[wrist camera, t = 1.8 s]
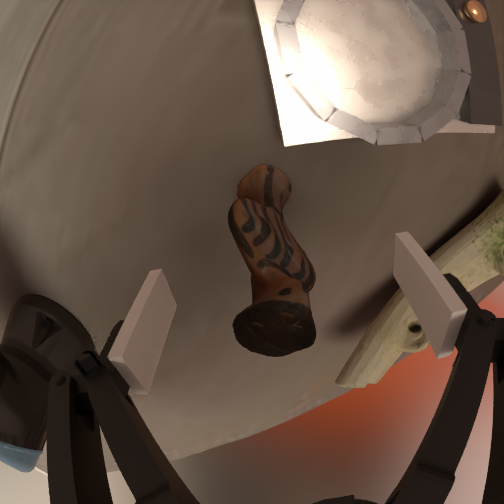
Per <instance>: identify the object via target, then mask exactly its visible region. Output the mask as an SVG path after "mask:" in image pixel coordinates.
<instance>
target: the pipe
mask: <svg viewBox="0 0 504 504" xmlns="http://www.w3.org/2000/svg"><path fill="white" fill-rule="evenodd" d="M429 258H430V259H431V260H432V262H433V263H434V264H435V266H436V267H437V268H438V269H439V271H440V272H441V273H442V274H446V273H451V274H452V275H454V276H455V277H457V278H458V279H459V281H460V282H461V283H462V285H463V286H464V287H465V288H466V290H467V291H468V292H469V291H471V290H472V289H474V288H475V287H477V286H478V285H480V284H482V283H483V282H485V281H487V280H489V279H491V278H493V277H495V276H497V275H499V274H501V275H503V276H504V190H502V192H501V193H500V194H499V195H498V196H497V198H496V199H495V200H494V201H493V202H492V203H491V204H490V205H489V206H488V207H487V208H486V209H485V210H484V211H483V212H482V213H481V214H480V215H479V216H478V217H477V218H476V219H474V220H473V221H472V222H470V223H469V224H468V225H466V226H465V227H464V228H463V229H462V230H461V231H459V232H458V233H457V234H456V235H455V236H453V237H452V238H451V239H450V240H449V241H447V242H446V243H445V244H444V245H443V246H441V247H440V248H439V249H438V250H437V251H435V252H434V253H433V254H432V255H431V256H430V257H429ZM429 344H430V342H429V340H428V338H427V336H426V334H425V332H424V330H423V328H422V326H421V325H420V323H419V321H418V319H417V317H416V315H415V313H414V311H413V309H412V308H411V306H410V304H409V302H408V300H407V298H406V297H405V295H404V293H403V291H402V289H401V288H399V289H398V290H397V291H396V292H395V294H394V295H393V296H392V297H391V299H390V300H389V301H388V302H387V304H386V305H385V306H384V308H383V309H382V310H381V311H380V313H379V314H378V315H377V317H376V318H375V319H374V321H373V322H372V323H371V324H370V326H369V327H368V329H367V330H366V332H365V334H364V336H363V337H362V339H361V340H360V342H359V344H358V345H357V347H356V348H355V350H354V351H353V353H352V355H351V356H350V358H349V359H348V361H347V362H346V364H345V366H344V367H343V369H342V371H341V372H340V374H339V376H338V377H337V379H336V381H335V382H336V384H337V385H338V386H341V387H343V388H365V386H366V385H367V384H368V383H371V384H376V383H378V381H379V380H380V379H381V378H382V377H383V376H384V374H385V373H386V372H387V370H388V369H389V368H390V367H391V366H392V364H393V363H394V362H395V361H396V360H397V359H398V357H399V356H400V355H401V354H402V353H403V351H404V352H419V351H422V350H423V349H425V348H426V347H427V346H428V345H429Z"/></svg>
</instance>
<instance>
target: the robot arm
mask: <svg viewBox="0 0 504 504" xmlns="http://www.w3.org/2000/svg"><path fill="white" fill-rule="evenodd" d="M393 276H394V277H395V279H396V281H397V282H398V284H399V286H400V288H401V289H402V291H403V293H404V295H405V297H406V298H407V300H408V302H409V304H410V306H411V308H412V309H413V311H414V313H415V315H416V317H417V319H418V321H419V323H420V325H421V326H422V328H423V330H424V332H425V334H426V336H427V338H428V340H429V342H430V344H431V346H432V348H433V350H434V352H435V355H436V357H437V359H439V358H442V357H445V356H448V355H451V354H452V352H453V349H454V346H455V347H456V348H457V350H458V354H457V356H456V359H455V361H454V363H453V366H452V367H453V368H452V371H451V374H450V377H449V380H448V383H447V385H446V388H445V390H444V393H443V396H442V398H441V400H440V403H439V405H438V408H437V410H436V413H435V415H434V417H433V419H432V421H431V424H430V426H429V428H428V430H427V432H426V434H425V436H424V438H423V440H422V442H421V444H420V446H419V448H418V450H417V452H416V454H415V456H414V458H413V459H412V461H411V463H410V465H409V467H408V468H407V470H406V472H405V474H404V475H403V477H402V479H401V480H400V482H399V483H398V485H397V486H396V488H395V489H394V491H393V492H392V493H391V495H390V496H389V498H388V499H387V501H386V503H385V504H444V502H445V500H446V498H447V496H448V494H449V492H450V490H451V488H452V486H453V483H454V480H455V475H454V474H455V471H456V468H457V466H458V463H459V461H460V459H461V457H462V454H463V452H464V449H465V447H466V444H467V441H468V439H469V436H470V433H471V431H472V428H473V424H474V422H475V419H476V416H477V413H478V409H479V406H480V403H481V399H482V396H483V392H484V388H485V384H486V380H487V376H488V372H489V367H490V363H493V384H494V402H493V404H494V405H493V427H492V440H491V450H490V458H489V466H488V472H487V479H486V484H485V490H484V494H483V500H482V504H504V318H496V317H495V315H494V314H493V313H492V312H490V311H488V310H484V309H480V308H479V306H478V305H477V303H476V302H475V300H474V299H473V298H472V296H471V295H470V294H469V292H468V291H467V290H466V288H465V287H464V286H463V285H462V283H461V282H460V281H459V279H458V278H457V277H455V276H454V275H452V274H451V273H446V274H442V273H441V272H440V271H439V269H438V268H437V267H436V266H435V264H434V263H433V262H432V260H431V259H430V258H429V257H428V255H427V254H426V253H425V252H424V251H423V249H422V248H421V247H420V246H419V244H418V243H417V242H416V241H415V240H414V238H413V237H412V236H411V235H410V234H409V233H408V231H407V232H401V233H395V253H394V268H393ZM176 308H177V304H176V302H175V300H174V297H173V295H172V292H171V290H170V288H169V285H168V283H167V280H166V278H165V275H164V273H163V270H162V269H157V270H151V271H150V272H149V274H148V276H147V278H146V279H145V281H144V283H143V285H142V287H141V289H140V291H139V293H138V295H137V297H136V299H135V301H134V303H133V305H132V307H131V309H130V311H129V313H128V315H127V317H126V319H125V320H120V321H119V322H118V323H117V324H116V325H115V326H114V328H113V329H112V331H111V333H110V336H109V337H108V340H107V342H106V344H105V346H104V348H103V350H102V352H101V354H100V356H99V355H98V354H97V352H96V351H95V349H94V345H93V343H92V340H91V338H90V336H89V335H88V333H87V332H86V330H85V329H84V328H83V326H82V325H81V324H80V323H79V322H78V321H77V320H76V319H75V318H74V317H73V316H72V315H71V314H70V313H69V312H68V311H66V310H65V309H64V308H62V307H61V306H59V305H58V304H56V303H55V302H53V301H51V300H49V299H47V298H44V297H41V296H37V295H26V296H23V297H21V298H20V299H19V300H18V302H17V303H16V304H15V305H14V307H13V308H12V310H11V312H10V315H9V318H8V321H7V325H6V328H5V332H4V335H3V339H2V342H1V344H0V461H2V462H4V463H5V464H7V465H9V466H11V467H13V468H15V469H17V470H19V471H21V472H30V471H32V470H33V469H34V467H35V465H36V463H37V461H38V458H39V456H40V454H42V452H43V447H44V445H45V442H46V439H47V469H48V483H49V495H50V504H113V501H112V497H111V493H110V488H109V483H108V478H107V473H106V467H105V462H104V456H103V449H102V442H101V435H100V427H101V430H102V432H103V434H104V437H105V439H106V441H107V444H108V446H109V448H110V450H111V452H112V455H113V457H114V459H115V461H116V463H117V465H118V467H119V469H120V471H121V473H122V475H123V477H124V479H125V481H126V483H127V485H128V486H129V488H130V490H131V492H132V494H133V495H134V497H135V499H136V503H135V504H200V503H199V502H198V501H197V500H196V498H195V497H194V496H193V494H192V493H191V492H190V490H189V489H188V488H187V486H186V485H185V484H184V482H183V481H182V480H181V478H180V477H179V475H178V474H177V472H176V471H175V470H174V468H173V467H172V465H171V464H170V462H169V461H168V459H167V458H166V456H165V455H164V453H163V452H162V450H161V449H160V447H159V445H158V444H157V442H156V441H155V439H154V437H153V436H152V434H151V433H150V431H149V429H148V428H147V426H146V424H145V422H144V421H143V419H142V417H141V415H140V414H139V412H138V410H137V408H136V406H135V405H134V403H133V401H132V399H131V397H130V396H129V395H128V391H129V388H131V390H132V391H133V392H134V393H135V394H139V395H149V393H150V390H151V386H152V383H153V380H154V376H155V373H156V370H157V366H158V363H159V360H160V357H161V354H162V351H163V347H164V344H165V341H166V338H167V335H168V332H169V329H170V326H171V323H172V320H173V317H174V314H175V311H176ZM99 425H100V427H99ZM313 504H377V503H375V502H372V501H368V500H361V499H354V495H349V496H344V497H338V498H332V499H325V500H322V501H319V502H316V503H313Z"/></svg>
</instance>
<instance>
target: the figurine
mask: <svg viewBox="0 0 504 504" xmlns="http://www.w3.org/2000/svg"><path fill="white" fill-rule="evenodd" d="M290 194H291V184H290V181H289V179H288V178H287V177H286V176H285V175H284V173H282V172H281V171H280V170H278V169H276V168H275V167H273V166H270V165H260V166H257V167H255V168H254V169H253V170H252V171H251V172H250V173H249V174H248V175H247V176H245V177H244V178H243V179H242V181H241V182H240V184H239V186H238V194H237V195H238V199H237V200H235V201H234V203H233V204H232V206H231V208H230V210H229V213H228V224H229V228H230V230H231V233H232V235H233V237H234V239H235V242H236V244H237V246H238V248H239V250H240V252H241V254H242V256H243V258H244V260H245V262H246V264H247V266H248V268H249V270H250V272H251V274H252V275H251V285H252V305H250V306H249V307H247V308H246V309H244V310H243V311H242V312H241V313H239V314H238V315H237V316H236V318H235V319H234V323H233V328H234V333H235V337H236V339H237V341H238V342H239V343H240V344H241V345H242V346H243V347H245V348H247V349H248V350H249V351H251V352H255V353H259V354H262V355H266V356H272V357H280V356H285V355H288V354H291V353H293V352H295V351H299V350H302V349H305V348H308V347H310V346H312V345H313V344H314V341H315V338H316V329H315V324H314V320H313V317H312V312H311V309H310V301H309V291H310V290H311V289H312V288H313V286H314V283H315V281H316V274H315V271H314V268H313V265H312V264H311V262H310V261H309V259H308V257H307V255H306V253H305V252H304V251H303V249H302V248H301V247H300V245H299V244H298V243H297V242H296V240H295V239H294V237H293V236H292V234H291V233H290V231H289V229H288V228H287V226H286V224H285V221H284V219H283V214H282V209H283V207H284V205H285V203H286V202H287V200H288V198H289V196H290Z"/></svg>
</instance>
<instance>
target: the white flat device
mask: <svg viewBox="0 0 504 504" xmlns="http://www.w3.org/2000/svg"><path fill="white" fill-rule="evenodd" d="M252 4H253V8H254V13H255V17H256V21H257V25H258V30H259V34H260V39H261V43H262V48H263V52H264V57H265V62H266V66H267V71H268V76H269V81H270V86H271V91H272V96H273V101H274V106H275V111H276V117H277V122H278V128H279V133H280V139H281V141H282V143H283V145H284V147H285V146H292V145H299V144H306V143H313V142H321V141H329V140H338V139H347V138H357V137H359V138H361V139H364V140H366V141H368V142H370V143H372V144H376V145H388V144H401V143H418V142H422V141H425V140H427V139H428V138H429V137H431V136H432V135H433V134H435V133H446V132H472V133H495V125H498V126H502V106H501V91H500V80H499V72H498V64H497V57H496V51H495V45H494V39H493V34H492V29H491V25H490V20H489V16H488V12H487V8H486V5H485V1H484V0H252Z"/></svg>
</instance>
